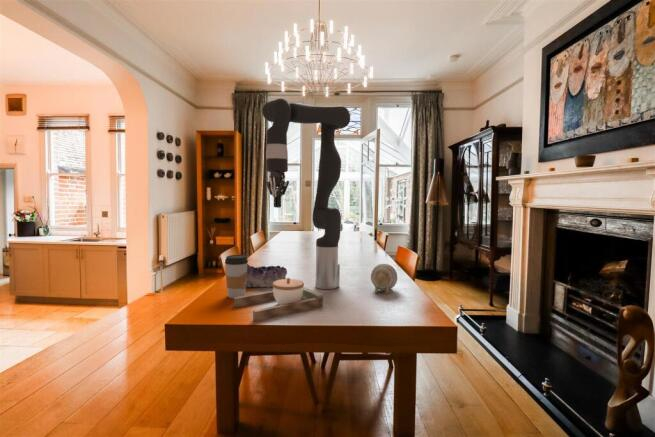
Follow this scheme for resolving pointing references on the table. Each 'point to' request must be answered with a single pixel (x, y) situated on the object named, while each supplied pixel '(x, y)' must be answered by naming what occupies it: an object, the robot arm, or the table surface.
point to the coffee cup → (236, 275)
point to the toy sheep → (383, 277)
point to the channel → (308, 302)
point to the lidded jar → (287, 290)
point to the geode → (264, 276)
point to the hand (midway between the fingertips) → (277, 207)
